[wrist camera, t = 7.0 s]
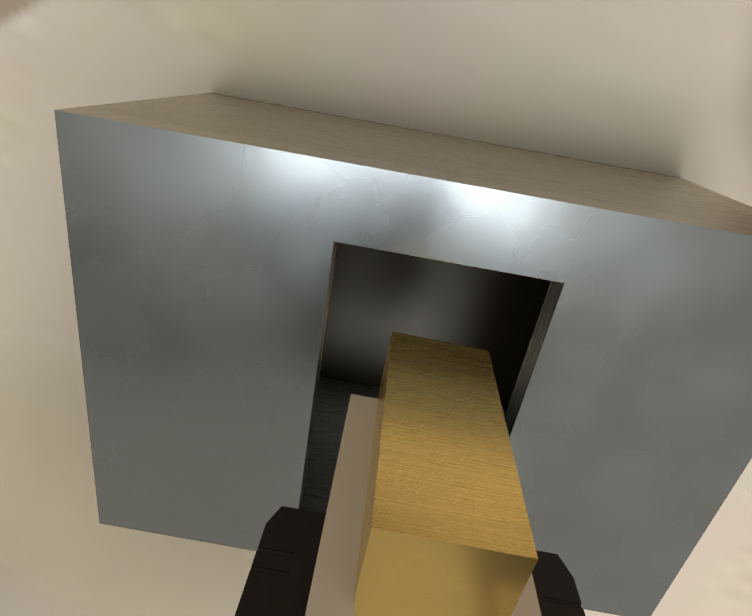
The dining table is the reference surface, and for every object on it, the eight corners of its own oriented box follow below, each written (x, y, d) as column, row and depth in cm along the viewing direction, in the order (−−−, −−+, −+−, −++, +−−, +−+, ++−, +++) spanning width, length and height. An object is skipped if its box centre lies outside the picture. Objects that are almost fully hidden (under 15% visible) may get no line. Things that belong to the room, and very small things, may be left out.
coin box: (205, 372, 27) (99, 523, 18) (210, 93, 21) (54, 110, 12) (570, 437, 27) (647, 620, 18) (680, 178, 21) (878, 259, 12)
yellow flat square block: (355, 499, 15) (320, 733, 10) (392, 332, 13) (371, 527, 7) (435, 514, 15) (443, 755, 10) (488, 350, 13) (538, 559, 7)
